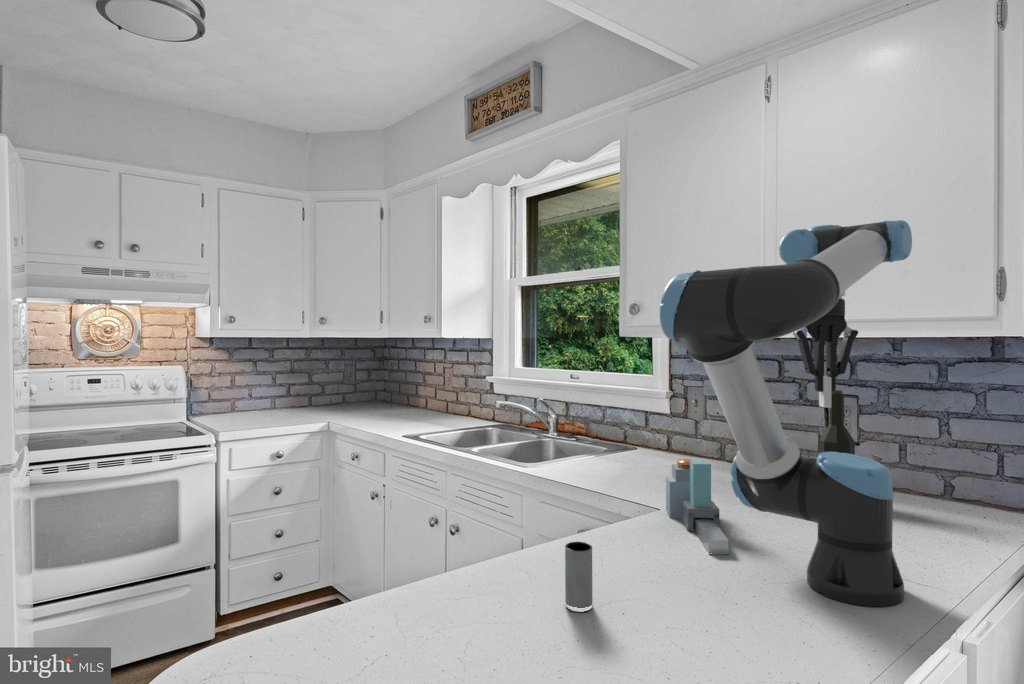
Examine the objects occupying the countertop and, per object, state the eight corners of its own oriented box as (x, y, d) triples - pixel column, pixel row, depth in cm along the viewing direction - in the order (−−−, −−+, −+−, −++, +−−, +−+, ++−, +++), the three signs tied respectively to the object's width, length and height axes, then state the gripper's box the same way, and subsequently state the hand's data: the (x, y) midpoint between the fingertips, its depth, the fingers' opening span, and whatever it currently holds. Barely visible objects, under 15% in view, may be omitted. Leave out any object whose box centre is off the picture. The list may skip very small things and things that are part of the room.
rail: (728, 554, 126) (728, 540, 125) (708, 554, 126) (708, 539, 126) (704, 519, 148) (704, 507, 148) (687, 519, 149) (687, 507, 149)
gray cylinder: (575, 598, 106) (574, 539, 106) (597, 605, 103) (597, 545, 103) (560, 607, 102) (559, 546, 102) (583, 615, 99) (582, 553, 99)
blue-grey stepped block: (707, 518, 149) (707, 470, 149) (669, 518, 150) (669, 469, 150) (702, 511, 155) (701, 464, 155) (666, 510, 156) (665, 464, 156)
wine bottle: (818, 505, 160) (818, 391, 159) (819, 497, 167) (819, 388, 167) (855, 509, 156) (855, 392, 156) (854, 501, 163) (854, 389, 163)
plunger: (697, 494, 150) (696, 463, 150) (678, 494, 151) (678, 462, 150) (693, 489, 155) (693, 459, 154) (675, 489, 155) (675, 459, 155)
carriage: (719, 531, 139) (719, 465, 139) (688, 530, 140) (687, 465, 140) (712, 521, 146) (712, 459, 146) (682, 520, 147) (682, 458, 147)
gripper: (848, 298, 135) (848, 404, 136) (788, 299, 137) (787, 404, 137) (865, 296, 128) (864, 409, 128) (800, 297, 129) (800, 408, 130)
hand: (825, 406), depth 133 cm, fingers closed
